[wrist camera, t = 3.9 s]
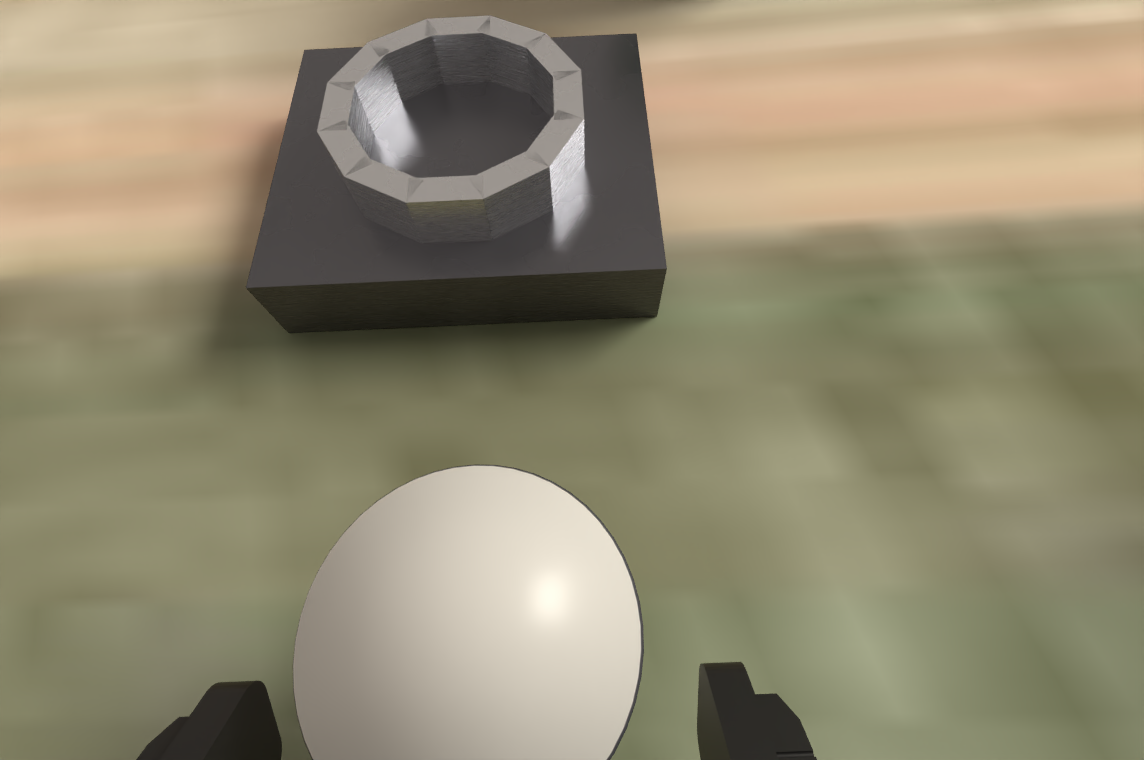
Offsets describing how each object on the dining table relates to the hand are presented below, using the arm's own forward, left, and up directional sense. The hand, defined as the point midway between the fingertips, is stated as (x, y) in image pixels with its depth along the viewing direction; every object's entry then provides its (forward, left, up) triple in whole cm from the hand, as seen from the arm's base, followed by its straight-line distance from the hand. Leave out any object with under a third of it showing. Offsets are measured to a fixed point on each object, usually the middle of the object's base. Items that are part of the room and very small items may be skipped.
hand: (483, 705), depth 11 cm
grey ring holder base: (+2, -18, -7) cm, 19 cm away
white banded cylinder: (0, -1, -7) cm, 7 cm away
